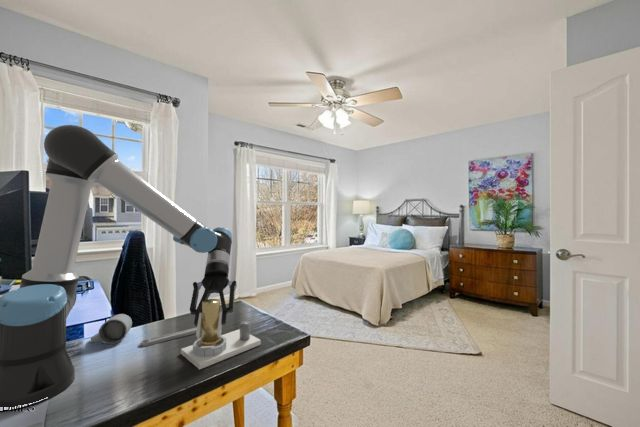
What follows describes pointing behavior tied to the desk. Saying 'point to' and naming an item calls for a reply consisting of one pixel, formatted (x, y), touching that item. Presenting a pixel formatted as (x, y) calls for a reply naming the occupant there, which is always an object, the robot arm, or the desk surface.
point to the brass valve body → (210, 322)
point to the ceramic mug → (113, 329)
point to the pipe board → (221, 347)
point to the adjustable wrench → (168, 337)
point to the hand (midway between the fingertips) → (208, 335)
